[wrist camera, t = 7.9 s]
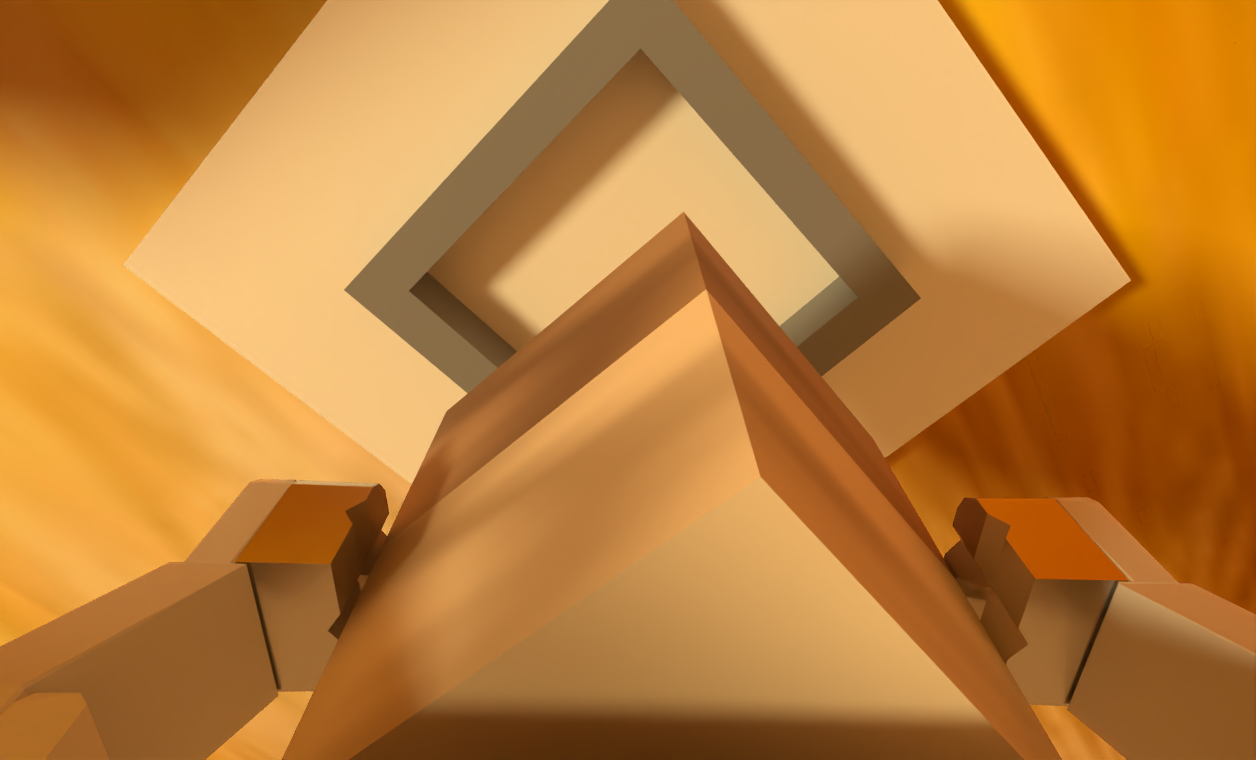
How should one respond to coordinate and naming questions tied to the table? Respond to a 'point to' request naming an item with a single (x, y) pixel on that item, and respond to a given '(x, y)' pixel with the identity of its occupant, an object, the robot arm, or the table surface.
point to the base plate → (623, 199)
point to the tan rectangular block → (662, 561)
